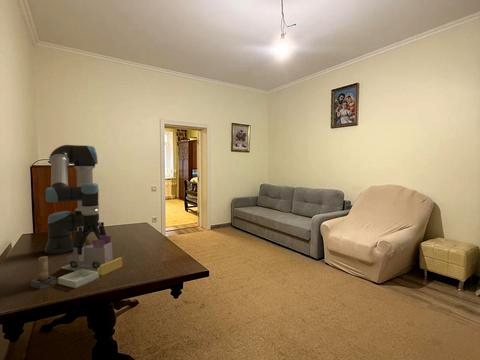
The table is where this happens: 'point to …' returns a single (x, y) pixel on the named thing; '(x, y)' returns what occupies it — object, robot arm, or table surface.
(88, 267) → the mat
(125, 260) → the table surface
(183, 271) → the table surface
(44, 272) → the pin
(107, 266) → the block
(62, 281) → the tray
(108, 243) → the toy vehicle
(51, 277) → the socket
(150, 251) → the table surface
